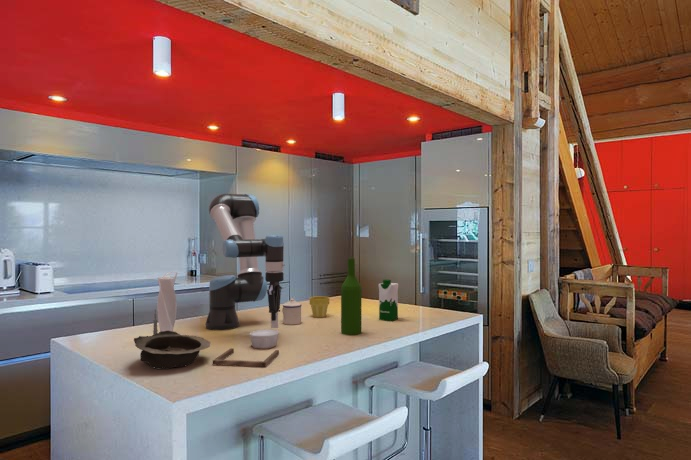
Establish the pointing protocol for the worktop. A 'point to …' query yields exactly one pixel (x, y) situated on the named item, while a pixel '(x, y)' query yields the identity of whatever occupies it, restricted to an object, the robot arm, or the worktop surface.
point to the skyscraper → (166, 304)
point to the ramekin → (264, 338)
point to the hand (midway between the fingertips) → (274, 327)
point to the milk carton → (388, 301)
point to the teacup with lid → (291, 312)
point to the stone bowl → (170, 349)
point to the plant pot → (319, 305)
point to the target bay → (264, 363)
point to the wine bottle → (351, 302)
